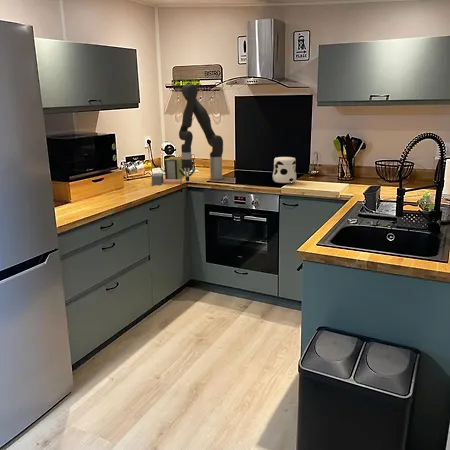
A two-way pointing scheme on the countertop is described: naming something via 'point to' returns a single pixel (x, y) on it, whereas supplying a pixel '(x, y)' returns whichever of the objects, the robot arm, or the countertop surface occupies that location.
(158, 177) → the overhang dock
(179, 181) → the shell plate
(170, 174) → the protein box
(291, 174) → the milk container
